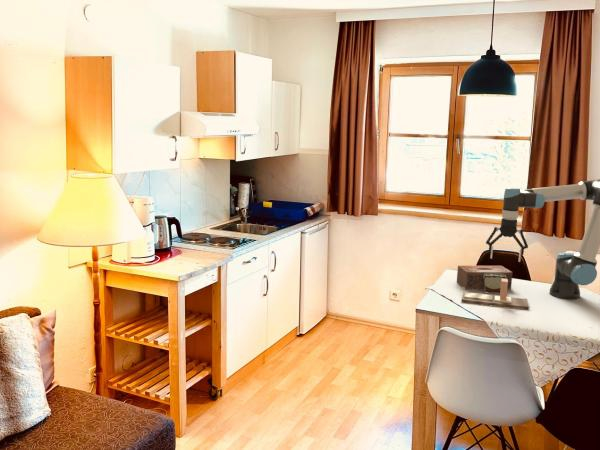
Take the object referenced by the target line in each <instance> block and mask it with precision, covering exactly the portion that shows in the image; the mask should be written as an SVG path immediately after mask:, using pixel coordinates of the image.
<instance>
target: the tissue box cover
mask: <svg viewBox="0 0 600 450" xmlns="http://www.w3.org/2000/svg"><path fill="white" fill-rule="evenodd" d="M489 272H493V273H501V274H504V275H506V277H507V279H508V286H507V290H512V282H513V274H514V273H513V271H511V270H510V269H508V268H506V267H504V266H503V265H457V273H456V283H457V284H459V285H460V286H461V287H463V289H464V290H485V284H484V278H483V276H484V274H485V273H489Z"/></svg>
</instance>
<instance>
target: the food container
mask: <svg viewBox="0 0 600 450" xmlns="http://www.w3.org/2000/svg"><path fill="white" fill-rule="evenodd" d="M483 278H484V284H485V289H484V293H485V292H489V294H500V290H501V279H502V278H503V279H507V277H506V275H504V274H501V273H493V272H489V273H485V274H484V276H483Z"/></svg>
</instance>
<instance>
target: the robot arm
mask: <svg viewBox="0 0 600 450" xmlns="http://www.w3.org/2000/svg"><path fill="white" fill-rule="evenodd" d="M577 199H580V200H581V201H586V200H587V201H592V206H593V211H592V213H591V216H590V218H589V221H588V224H587V226H586V229H585V232H584V234H583V237H582V240H581V242H580V246H579V248H578V251H577V252H576V253H573V252H572V253H571V252H559V253H557V255H556V259H555V260H556V261H555V271H554V280H553V281H552V284H551V286H550V288H549V295H551V296H552V297H555V298H560V299H563V300H565V299H566V300H576V299H577V300H578V299H580V298H581V291H580V287H579V286H588V285H590V284H592V283H594V282H595V280H596V279H597V277H598V276H597V275H598V271H597V268H596V267H597V265H598V261H597V259H596V257H597V254H598V252H599V249H600V178H599V179H593V180H586V181H580V182H578V183H576V184H575V183H574V184H567V185H556V186H546V187H545V186H544V187H537V188H525V189H523V188H518V187H506V188H505V189H504V194H503V201H502V203H503V204H502V212H501V222H500V227H498V226H496V225H495V226H494V227H493V230H492V232H491V233H490V236H489V237H488V238H487V240H486V242H485V244H486V245H488V247H489V248H488V252H490V256H489V257H490V259H492V260H493V251H494V244H495V243H496V242H497V241H498V240H499V239H500V238H502V237H504V238H507V237H508V238H513V239H514V240H515V241H516V243H517V245H518V246H519V251H518V252H519V255H518V262H519V263H520V262H521V257H522V256H524V252H525V249H528V248H529V246H528V243H527V240H526V238H525V235H524V232H523V231H524V230H523V229H522V228H520V229H519V228H517V227H518V217H519V208H528V209H529V208H530V209H531V208H532V209H542V208H543V207H544V204H545V202H547V203H548V202H555V201H557V202H558V201H566V200H567V201H568V200H577ZM498 231H499V232H500V233H499V234H497V236H496V237H495V238H493V237H494V236H495V234H496V232H498ZM517 233H518V234H519V235H520V237H521V239H522V242H523V243H522V242H521V241H520V239H519V237H517V235H516V234H517ZM492 238H493V240H492ZM491 240H492V241H491Z"/></svg>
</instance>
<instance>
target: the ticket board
mask: <svg viewBox="0 0 600 450" xmlns="http://www.w3.org/2000/svg"><path fill="white" fill-rule="evenodd" d="M461 296H462V297H461V303H463V304H464V303H465V304H473V303H474V305H475V304H476V305H481V304H483V306H490V305H492V306H491V307H498V308H499V307H502V308H506V309H507V308H508V309H515V310H516V309H518V310H525V311H526V310H527V311H528V310H529V309H530V306H529V302H528V301H529V300H528V298H522V297H521V298H519V297H512V296H510V297H511V303H505V302H496V301H495V296H496V295H493V294H486V293H485V294H484V293H477V292H476V293H475V292H465V291H463V292H462V295H461Z"/></svg>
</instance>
